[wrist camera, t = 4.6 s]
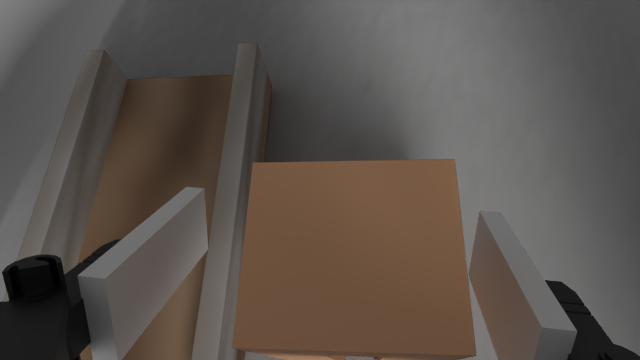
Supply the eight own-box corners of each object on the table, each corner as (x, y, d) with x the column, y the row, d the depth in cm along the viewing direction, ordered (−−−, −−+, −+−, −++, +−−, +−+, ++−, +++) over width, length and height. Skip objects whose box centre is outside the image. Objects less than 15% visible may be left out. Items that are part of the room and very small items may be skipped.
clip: (413, 266, 20) (455, 158, 10) (419, 367, 18) (476, 355, 8) (309, 265, 21) (252, 162, 11) (304, 363, 19) (231, 347, 9)
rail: (271, 86, 26) (256, 42, 22) (236, 433, 18) (206, 445, 15) (122, 92, 27) (87, 51, 23) (31, 422, 19) (-41, 431, 16)
